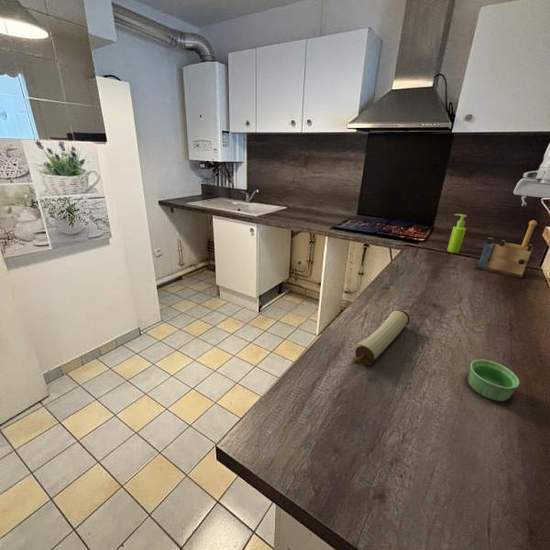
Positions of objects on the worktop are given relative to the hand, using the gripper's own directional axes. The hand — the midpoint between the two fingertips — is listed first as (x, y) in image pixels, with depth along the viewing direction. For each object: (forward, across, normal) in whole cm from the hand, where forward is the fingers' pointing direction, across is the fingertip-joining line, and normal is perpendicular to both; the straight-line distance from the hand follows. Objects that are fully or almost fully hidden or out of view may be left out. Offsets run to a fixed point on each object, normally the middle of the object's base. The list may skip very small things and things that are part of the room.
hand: (536, 207), depth 129 cm
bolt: (+16, +2, +13) cm, 21 cm away
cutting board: (+28, +4, +13) cm, 32 cm away
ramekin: (+30, 0, +103) cm, 108 cm away
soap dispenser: (+29, +27, -6) cm, 40 cm away
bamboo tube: (+31, +25, +102) cm, 110 cm away
